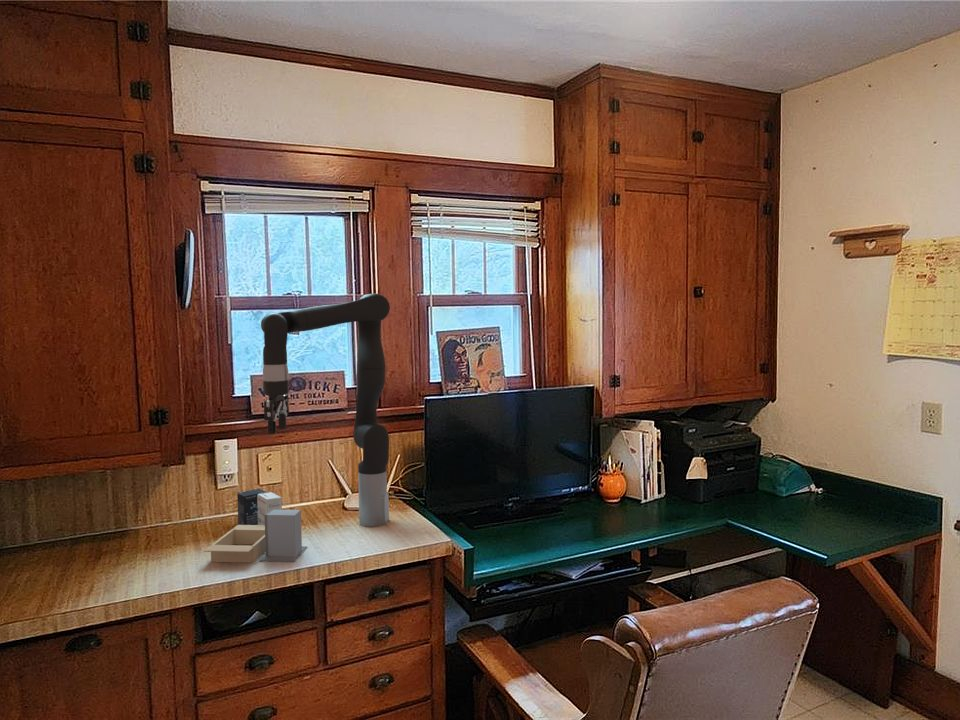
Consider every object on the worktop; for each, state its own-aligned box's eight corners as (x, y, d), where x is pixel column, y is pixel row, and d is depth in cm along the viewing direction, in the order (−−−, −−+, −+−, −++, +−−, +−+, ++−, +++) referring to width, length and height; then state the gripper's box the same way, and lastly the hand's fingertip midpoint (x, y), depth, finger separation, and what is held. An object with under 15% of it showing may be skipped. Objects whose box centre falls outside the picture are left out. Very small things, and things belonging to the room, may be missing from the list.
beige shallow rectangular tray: (278, 539, 202) (277, 525, 202) (249, 567, 181) (248, 551, 180) (238, 539, 203) (237, 524, 203) (204, 566, 181) (203, 550, 181)
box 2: (301, 550, 192) (300, 509, 191) (295, 556, 187) (294, 515, 186) (272, 549, 193) (271, 509, 192) (265, 556, 188) (264, 514, 187)
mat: (307, 547, 195) (307, 546, 195) (294, 562, 184) (294, 560, 184) (274, 547, 196) (274, 545, 196) (259, 561, 185) (259, 560, 185)
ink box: (283, 533, 208) (281, 496, 207) (267, 536, 205) (266, 499, 204) (272, 526, 214) (271, 490, 214) (257, 529, 211) (256, 493, 210)
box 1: (245, 527, 213) (244, 495, 213) (237, 523, 217) (236, 492, 217) (268, 522, 219) (267, 491, 218) (260, 518, 223) (259, 487, 222)
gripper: (279, 381, 194) (281, 435, 195) (295, 376, 208) (297, 427, 209) (254, 381, 195) (256, 435, 196) (272, 376, 209) (274, 427, 210)
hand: (277, 431), depth 203 cm, fingers open, 8 cm apart
